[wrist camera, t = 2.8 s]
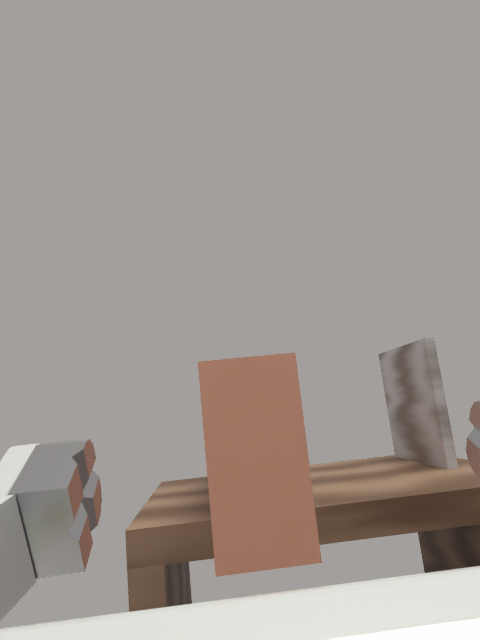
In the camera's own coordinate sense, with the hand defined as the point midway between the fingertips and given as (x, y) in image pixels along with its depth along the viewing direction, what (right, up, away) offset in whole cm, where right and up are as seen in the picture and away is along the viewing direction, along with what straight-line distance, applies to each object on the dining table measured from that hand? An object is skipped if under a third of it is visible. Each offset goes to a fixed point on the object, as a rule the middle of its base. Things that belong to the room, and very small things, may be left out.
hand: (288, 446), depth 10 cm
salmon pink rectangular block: (-1, -9, +19) cm, 21 cm away
